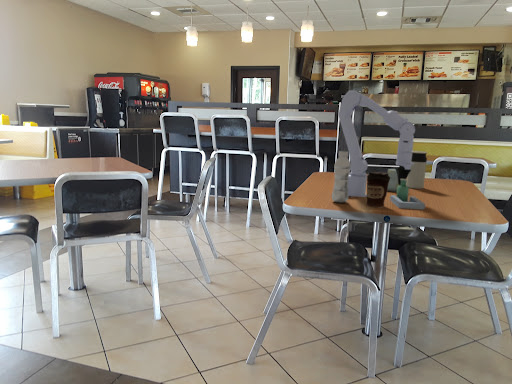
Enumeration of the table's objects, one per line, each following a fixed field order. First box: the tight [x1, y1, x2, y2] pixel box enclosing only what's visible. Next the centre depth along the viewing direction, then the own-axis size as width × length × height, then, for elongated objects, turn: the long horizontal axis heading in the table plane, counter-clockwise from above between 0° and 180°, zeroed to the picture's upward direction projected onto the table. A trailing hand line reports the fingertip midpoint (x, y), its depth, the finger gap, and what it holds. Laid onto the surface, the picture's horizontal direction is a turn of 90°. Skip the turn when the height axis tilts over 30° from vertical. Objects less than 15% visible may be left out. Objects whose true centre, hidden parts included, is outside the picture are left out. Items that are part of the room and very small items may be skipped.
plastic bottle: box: [331, 150, 351, 203], centre depth 154 cm, size 6×7×20 cm
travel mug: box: [406, 150, 428, 190], centre depth 197 cm, size 8×8×18 cm
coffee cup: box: [366, 171, 390, 208], centre depth 150 cm, size 9×8×13 cm
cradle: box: [389, 194, 426, 210], centre depth 155 cm, size 9×14×2 cm
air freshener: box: [386, 168, 400, 193], centre depth 186 cm, size 11×8×10 cm
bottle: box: [396, 179, 410, 202], centre depth 162 cm, size 4×4×9 cm
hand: (401, 184), depth 165 cm, fingers closed
